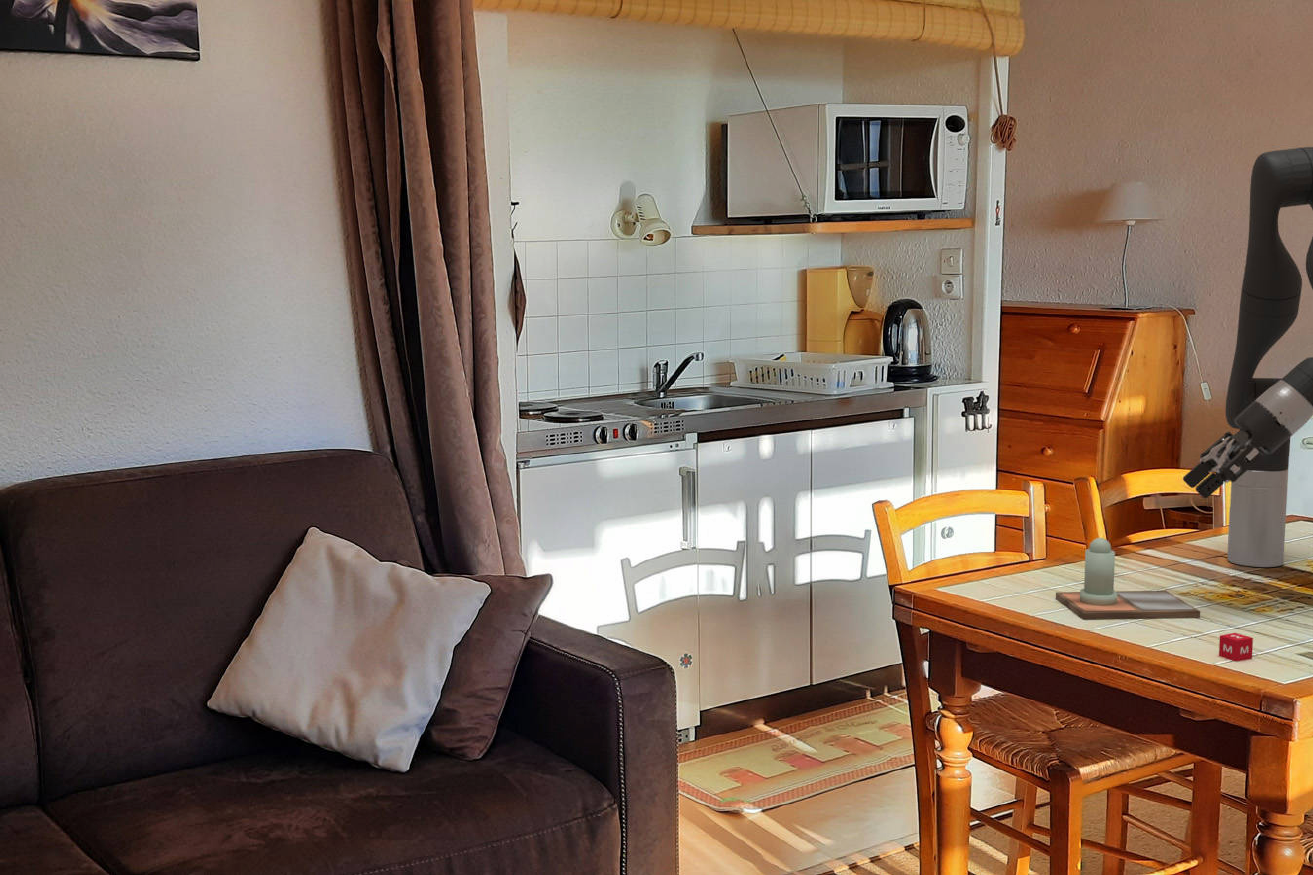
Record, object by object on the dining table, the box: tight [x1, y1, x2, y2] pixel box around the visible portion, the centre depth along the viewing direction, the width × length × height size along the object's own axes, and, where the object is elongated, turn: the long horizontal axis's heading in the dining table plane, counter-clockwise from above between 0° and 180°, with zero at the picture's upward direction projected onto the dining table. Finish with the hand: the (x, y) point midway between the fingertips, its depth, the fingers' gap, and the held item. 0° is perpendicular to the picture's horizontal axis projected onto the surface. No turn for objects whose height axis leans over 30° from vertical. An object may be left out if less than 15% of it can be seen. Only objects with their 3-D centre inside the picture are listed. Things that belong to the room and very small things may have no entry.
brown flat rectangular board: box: [1055, 590, 1201, 621], centre depth 213 cm, size 13×18×1 cm
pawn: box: [1079, 537, 1118, 606], centre depth 213 cm, size 6×6×10 cm
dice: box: [1218, 632, 1254, 662], centre depth 187 cm, size 3×3×3 cm
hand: (1193, 488), depth 211 cm, fingers open, 8 cm apart
